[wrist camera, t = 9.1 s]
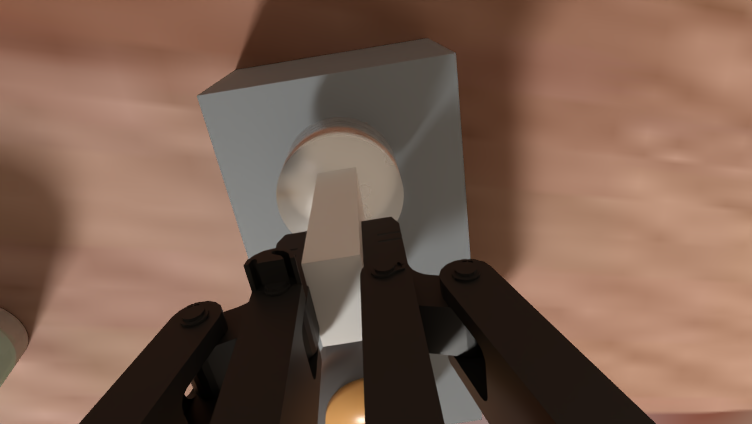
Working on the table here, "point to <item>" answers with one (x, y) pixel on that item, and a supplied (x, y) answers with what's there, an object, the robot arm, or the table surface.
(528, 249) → the table surface
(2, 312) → the coffee cup
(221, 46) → the table surface
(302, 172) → the knob
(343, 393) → the pot knob
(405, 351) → the robot arm
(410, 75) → the console
